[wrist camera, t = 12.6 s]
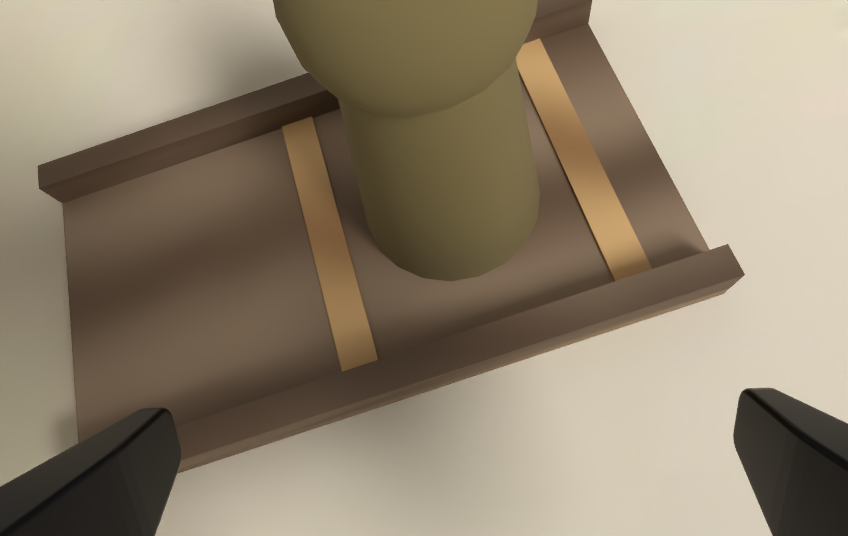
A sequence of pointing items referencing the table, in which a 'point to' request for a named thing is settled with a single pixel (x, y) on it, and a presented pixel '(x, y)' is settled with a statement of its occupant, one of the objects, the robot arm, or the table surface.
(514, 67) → the olive pawn shaped piece
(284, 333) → the channel board
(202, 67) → the table surface
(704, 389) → the table surface
